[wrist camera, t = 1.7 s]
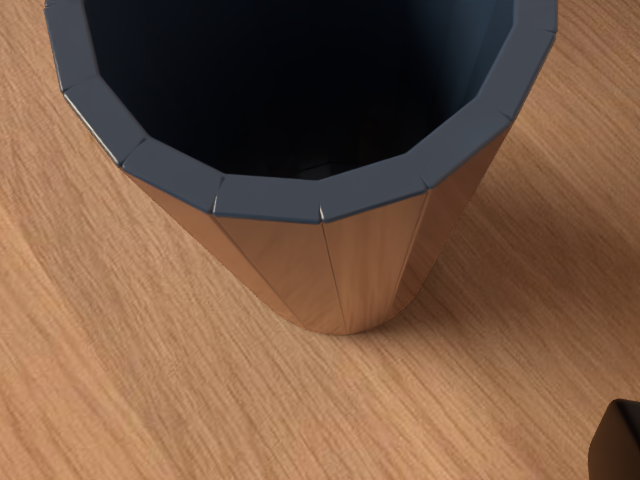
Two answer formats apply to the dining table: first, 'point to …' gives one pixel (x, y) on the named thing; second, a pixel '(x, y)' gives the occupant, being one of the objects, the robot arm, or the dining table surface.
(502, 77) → the cup
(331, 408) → the dining table surface
